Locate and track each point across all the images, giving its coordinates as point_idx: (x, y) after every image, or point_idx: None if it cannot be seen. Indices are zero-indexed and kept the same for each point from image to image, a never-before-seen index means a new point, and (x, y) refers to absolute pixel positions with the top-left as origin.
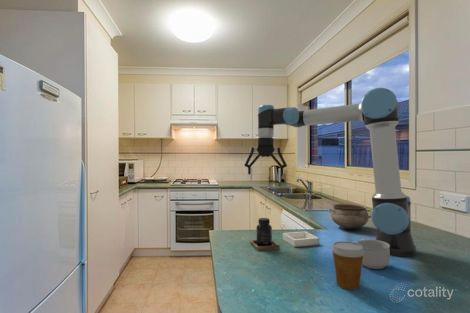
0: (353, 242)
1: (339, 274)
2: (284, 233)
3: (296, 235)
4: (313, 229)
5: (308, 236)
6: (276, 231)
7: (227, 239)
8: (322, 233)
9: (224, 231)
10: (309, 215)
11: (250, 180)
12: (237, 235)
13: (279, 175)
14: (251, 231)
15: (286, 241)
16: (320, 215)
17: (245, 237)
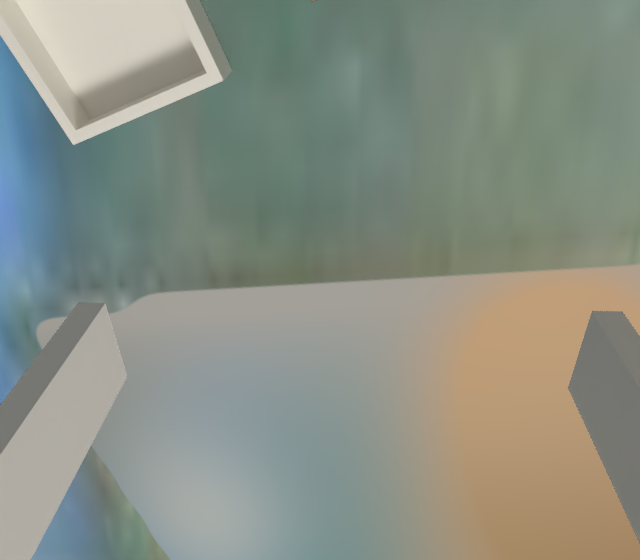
0: None
1: None
2: (210, 71)
3: (136, 101)
4: (66, 302)
5: (53, 77)
6: (278, 250)
7: (625, 33)
8: (4, 227)
9: (617, 228)
10: (118, 532)
11: (629, 322)
12: (538, 142)
13: (40, 384)
14: (435, 240)
15: (203, 10)
16: (65, 533)
17: (486, 98)
